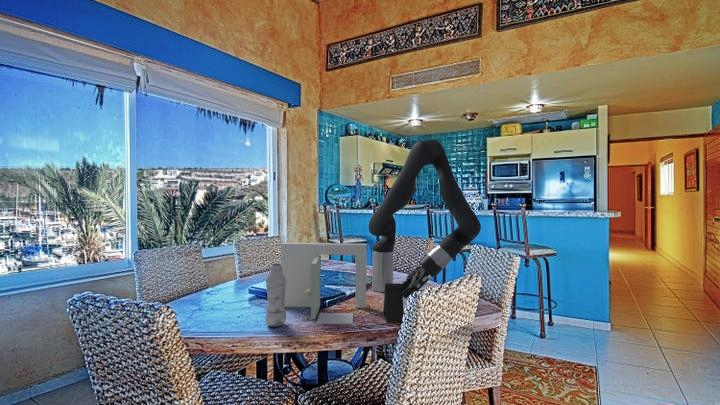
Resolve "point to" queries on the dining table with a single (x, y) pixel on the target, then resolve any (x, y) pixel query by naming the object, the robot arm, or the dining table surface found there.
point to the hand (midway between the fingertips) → (402, 292)
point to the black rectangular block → (393, 302)
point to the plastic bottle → (276, 296)
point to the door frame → (319, 277)
